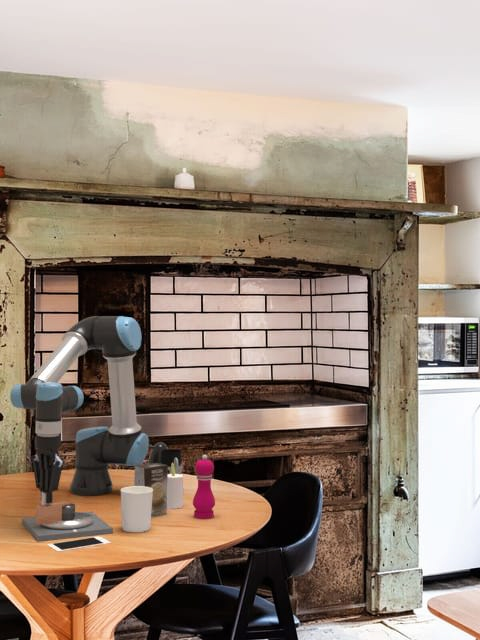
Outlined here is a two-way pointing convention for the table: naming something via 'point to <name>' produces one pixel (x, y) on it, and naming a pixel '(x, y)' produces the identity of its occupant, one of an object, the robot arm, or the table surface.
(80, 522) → the dial
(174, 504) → the candle
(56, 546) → the cell phone
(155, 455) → the pump dispenser
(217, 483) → the table surface
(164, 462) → the picture frame
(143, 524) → the candle holder
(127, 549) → the table surface
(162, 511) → the coffee box
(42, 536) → the dial plate
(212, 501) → the pepper mill
